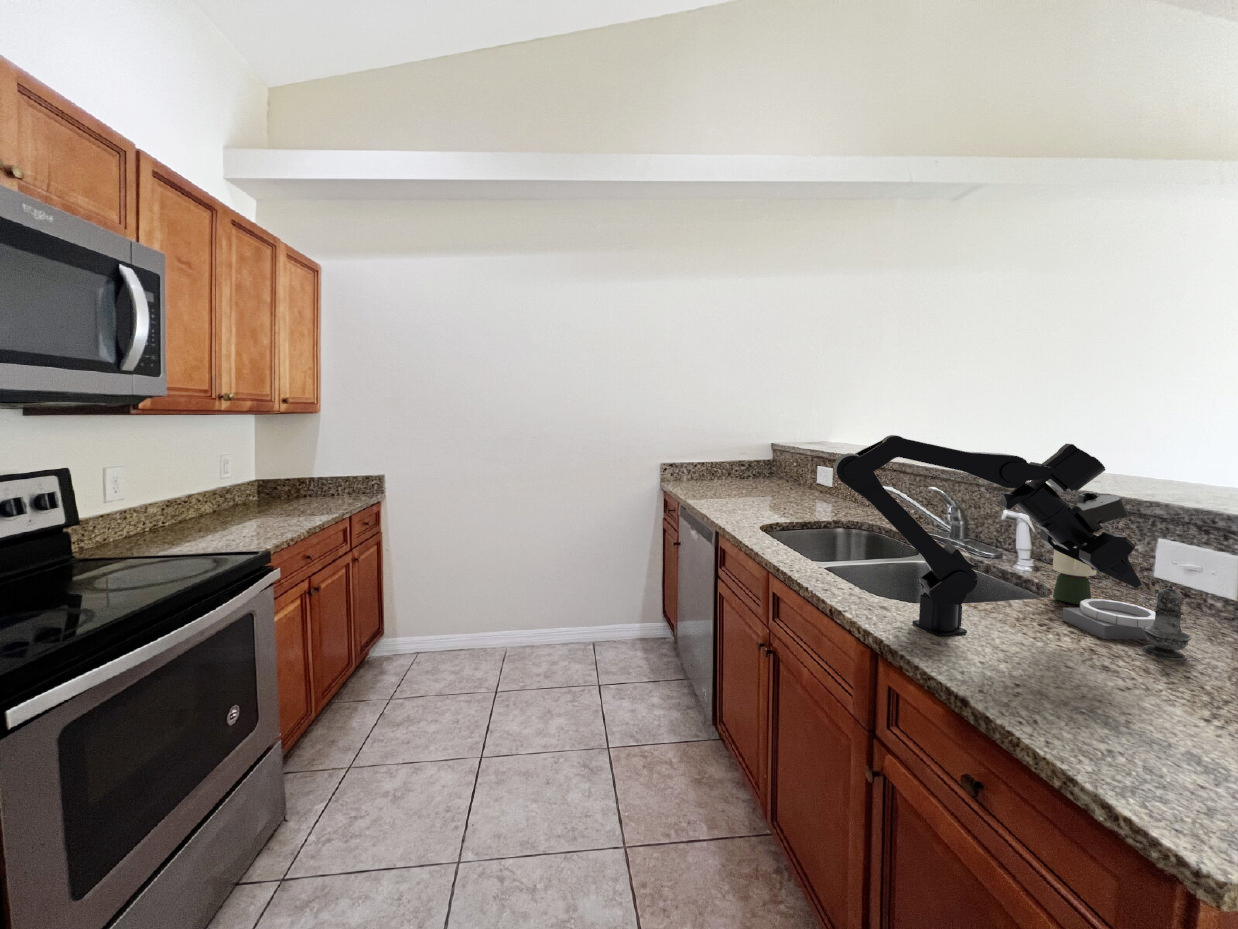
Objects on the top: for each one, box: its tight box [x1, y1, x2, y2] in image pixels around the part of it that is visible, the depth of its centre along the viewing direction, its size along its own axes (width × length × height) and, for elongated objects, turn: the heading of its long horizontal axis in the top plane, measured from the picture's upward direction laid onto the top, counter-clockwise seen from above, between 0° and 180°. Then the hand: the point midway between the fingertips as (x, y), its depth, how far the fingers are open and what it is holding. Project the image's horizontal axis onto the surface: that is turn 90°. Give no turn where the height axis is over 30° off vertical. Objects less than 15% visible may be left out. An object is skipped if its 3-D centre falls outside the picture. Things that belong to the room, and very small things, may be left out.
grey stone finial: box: [1141, 583, 1192, 661], centre depth 90 cm, size 6×6×12 cm
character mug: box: [1052, 549, 1098, 606], centre depth 114 cm, size 11×7×13 cm, turn 145°
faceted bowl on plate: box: [1061, 598, 1156, 640], centre depth 100 cm, size 13×10×4 cm
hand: (1121, 577), depth 91 cm, fingers open, 9 cm apart
